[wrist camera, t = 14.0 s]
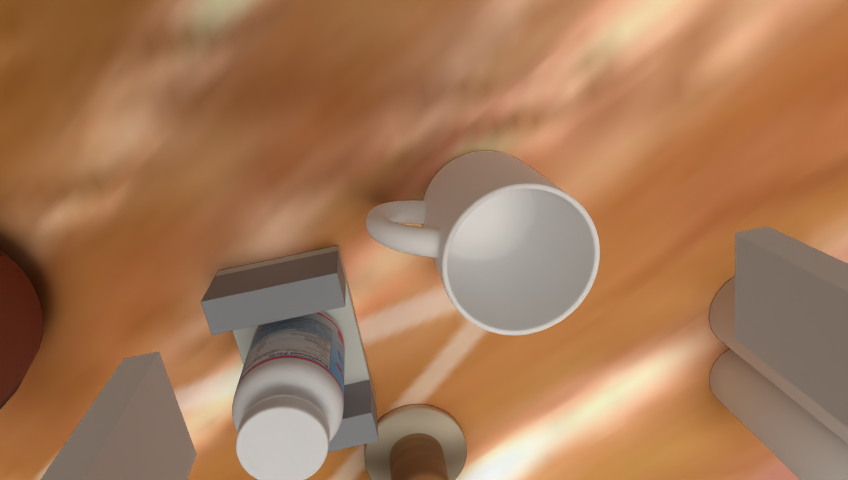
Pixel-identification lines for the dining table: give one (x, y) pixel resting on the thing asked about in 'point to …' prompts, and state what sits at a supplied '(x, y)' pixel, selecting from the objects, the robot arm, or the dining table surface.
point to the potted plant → (17, 326)
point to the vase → (774, 404)
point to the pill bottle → (290, 397)
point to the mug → (498, 241)
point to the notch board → (292, 297)
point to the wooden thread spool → (416, 445)
